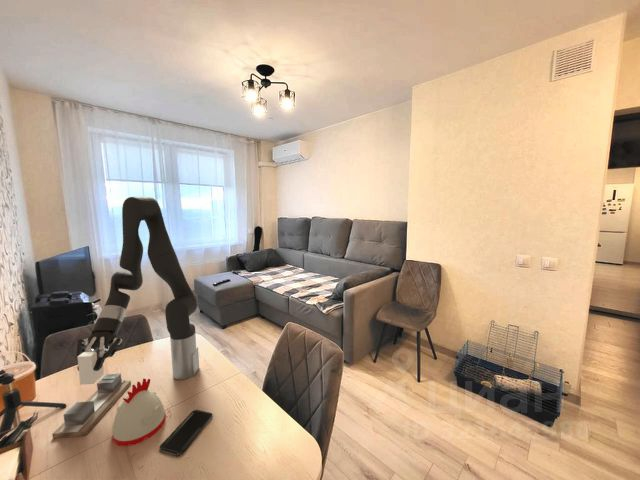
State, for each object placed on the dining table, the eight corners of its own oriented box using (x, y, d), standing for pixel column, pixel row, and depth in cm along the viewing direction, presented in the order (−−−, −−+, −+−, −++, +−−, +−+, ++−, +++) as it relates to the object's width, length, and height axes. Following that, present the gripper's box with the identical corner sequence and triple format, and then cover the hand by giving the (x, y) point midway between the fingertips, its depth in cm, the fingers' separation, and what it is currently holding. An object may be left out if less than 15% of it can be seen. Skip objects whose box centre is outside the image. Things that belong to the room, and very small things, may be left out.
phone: (157, 448, 74) (194, 409, 89) (157, 452, 74) (194, 412, 89) (180, 455, 72) (214, 413, 87) (180, 459, 73) (214, 416, 87)
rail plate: (130, 383, 102) (129, 369, 101) (85, 435, 79) (83, 417, 78) (106, 385, 100) (104, 370, 100) (52, 438, 78) (50, 419, 77)
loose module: (103, 374, 91) (101, 347, 90) (93, 384, 86) (91, 356, 85) (91, 374, 90) (89, 348, 89) (80, 384, 85) (77, 356, 84)
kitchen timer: (175, 415, 87) (172, 374, 85) (133, 452, 74) (129, 405, 72) (145, 404, 91) (142, 365, 89) (101, 437, 79) (96, 392, 77)
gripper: (82, 316, 93) (56, 369, 82) (125, 316, 94) (105, 367, 84) (94, 324, 98) (71, 373, 88) (135, 323, 100) (117, 372, 90)
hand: (88, 370), depth 86 cm, fingers closed on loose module, 4 cm apart
